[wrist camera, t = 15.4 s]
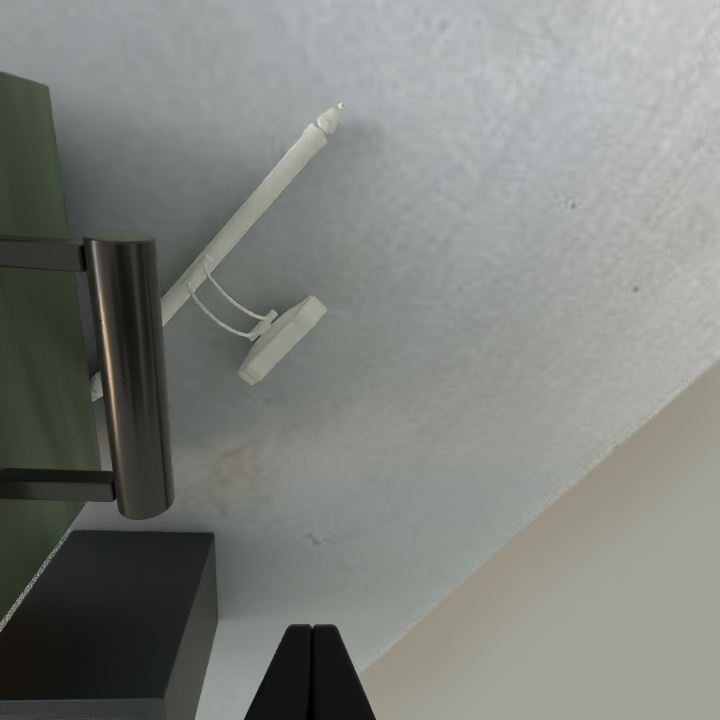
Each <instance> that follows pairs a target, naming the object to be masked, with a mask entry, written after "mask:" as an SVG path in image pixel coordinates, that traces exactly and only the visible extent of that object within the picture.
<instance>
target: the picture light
mask: <svg viewBox="0 0 720 720" xmlns="http://www.w3.org/2000/svg"><path fill="white" fill-rule="evenodd" d="M344 109H345V106H344V105H343V104H342V103H339V104H338V107H332V108H330V109H328V110H327V111H326V112H325V113H324V114H321V115H320V116H319V117H318V118H317V121H318V124H319V125H318V126H316V125H314V124H312V123H310V124H309V126H308V127H307V129H305V130H304V134H303V135H302V136H301V137H300V138H299V140H298V141H297V142H296V143H295V144H294V145H293V147H292V148H291V149H290V150H289V151H288V152H287V154H286V155H285V156H284V157H283V158H282V159H281V160H280V162H279V163H278V164H277V165H276V166H275V167H274V169H273V170H272V171H271V172H270V173H269V174H268V176H267V177H266V178H265V179H264V180H263V181H262V183H261V184H260V185H259V186H258V187H257V188H256V190H255V191H254V192H253V193H252V194H251V195H250V197H249V198H248V199H247V200H246V201H245V202H244V204H243V205H242V206H241V207H240V208H239V209H238V211H237V212H236V213H235V214H234V215H233V216H232V217H231V219H230V220H229V221H228V222H227V223H226V224H225V226H224V227H223V228H222V229H221V230H220V231H219V233H218V234H217V235H216V236H215V237H214V238H213V240H212V241H211V242H210V243H209V244H208V245H207V247H206V248H205V249H204V250H203V251H202V252H201V254H200V255H199V256H198V257H197V258H196V259H195V261H194V262H193V263H192V264H191V265H190V266H189V268H188V269H187V270H186V271H185V272H184V273H183V274H182V276H181V277H180V278H179V279H178V280H177V281H176V283H175V284H174V285H173V286H172V287H171V288H170V290H169V291H168V292H167V293H166V294H165V295H164V297H163V298H162V299H161V312H162V326H163V327H164V325H165V324H166V323H167V322H168V321H169V320H170V319H171V317H172V316H173V315H174V314H175V313H176V312H177V311H178V309H179V308H180V307H181V306H182V305H183V304H184V303H185V302H186V300H187V299H188V298H189V297H190V296H192V298H193V299H194V301H195V302H196V303H197V305H198V306H199V307H200V308H201V309H202V310H203V311H204V312H205V313H206V314H207V315H208V316H209V317H210V318H211V319H212V320H214V321H215V322H216V323H218V324H219V325H220V326H222V327H223V328H225V329H227V330H228V331H230V332H232V333H234V334H237V335H240V336H244V337H248V339H249V340H251V341H254V340H255V339H256V338H257V337H258V336H259V335H261V336H260V337H259V339H258V340H257V341H256V342H255V344H254V345H253V347H252V348H251V350H250V351H249V353H248V354H247V356H246V358H245V360H244V363H243V365H242V366H241V367H240V369H239V370H238V372H237V373H238V374H237V375H238V376H240V377H241V378H242V379H243V380H245V381H246V382H247V383H248V384H250V385H251V386H253V385H255V384H256V383H257V382H260V381H261V380H262V379H263V378H264V377H265V376H266V375H267V374H268V372H269V371H270V370H271V369H272V368H273V367H274V366H275V365H276V364H277V363H278V362H279V361H280V360H281V359H282V358H283V357H284V356H285V355H286V354H287V353H288V352H289V351H290V350H291V349H292V348H293V347H294V346H295V344H296V343H297V342H298V341H299V340H300V339H301V338H302V337H303V336H304V335H305V334H307V333H308V332H309V331H310V330H311V329H312V328H313V327H314V326H315V325H316V324H317V322H318V321H319V319H320V318H321V316H322V315H323V314H324V313H325V312H326V310H327V308H326V307H325V306H324V305H323V304H322V303H321V302H320V301H319V300H318V299H317V298H315V297H314V296H313V295H310V296H308V297H307V298H306V299H305V300H304V301H302V302H301V303H299V304H297V305H295V306H294V307H292V308H291V309H289V310H288V311H286V312H285V313H284V314H283V315H281V316H280V317H279V318H278V319H277V320H276V321H275V322H273V323H272V321H273V320H274V319H275V318H276V317H277V316H278V314H277V312H276V311H274V310H273V309H272V310H270V312H269V313H268V314H267V315H266V316H259V315H257V314H254V313H252V312H250V311H248V310H247V309H245V308H244V307H242V306H241V305H239V304H238V303H237V302H235V301H234V300H233V299H232V298H231V297H230V296H228V295H227V294H226V293H225V292H224V291H223V290H222V289H221V288H220V286H219V285H218V284H217V283H216V282H215V281H214V279H213V278H212V276H211V275H210V273H211V272H212V271H213V270H214V268H215V267H216V266H217V265H218V264H219V263H220V262H221V260H222V259H223V258H224V257H225V256H226V255H227V254H228V253H229V251H230V250H231V249H232V248H233V247H234V246H235V245H236V243H237V242H238V241H239V240H240V239H241V238H242V237H243V235H244V234H245V233H246V232H247V231H248V230H249V229H250V227H251V226H252V225H253V224H254V223H255V222H256V221H257V219H258V218H259V217H260V216H261V215H262V214H263V213H264V211H265V210H266V209H267V208H268V207H269V206H270V205H271V204H272V202H273V201H274V200H275V199H276V198H277V197H278V196H279V194H280V193H281V192H282V191H283V190H284V189H285V188H286V186H287V185H288V184H289V183H290V182H291V181H292V180H293V178H294V177H295V176H296V175H297V174H298V173H299V172H300V170H301V169H302V168H303V167H304V166H305V165H306V164H307V162H308V161H309V160H310V159H311V158H312V157H313V156H314V155H315V153H316V152H317V151H318V150H319V149H322V148H323V146H324V145H325V144H326V143H327V142H328V140H327V137H326V136H325V133H327V134H332V133H333V132H334V131H335V129H336V126H337V125H338V123H339V122H340V119H341V111H344ZM207 277H208V279H209V280H210V281H211V283H212V284H213V285H214V286H215V288H216V289H217V290H218V291H219V292H220V293H221V294H222V295H223V296H224V297H225V298H226V299H227V300H228V301H230V302H231V303H232V304H233V305H235V306H236V307H237V308H239V309H240V310H242V311H243V312H245V313H247V314H248V315H250V316H252V317H255V318H257V319H260V320H261V321H260V322H259V323H258V324H257V325H256V326H255V327H254V329H253V330H252V331H251V332H250V333H242V332H239V331H236V330H234V329H232V328H230V327H229V326H227V325H225V324H224V323H222V322H221V321H219V320H218V319H217V318H216V317H214V316H213V315H212V314H211V313H210V312H209V311H208V310H207V309H206V308H205V307H204V306H203V305H202V304H201V303H200V301H199V300H198V299H197V297H196V296H195V294H194V293H193V292H194V291H195V290H196V289H197V288H198V287H199V286H200V284H201V283H202V282H203V281H204V280H205V279H206V278H207ZM90 388H91V396H92V402H94V401H96V400H97V399H98V398H100V397H102V396H103V392H102V384H101V376H100V371H99V372H97V373H96V374H95V375H94V376H93V377H92V378H91V380H90Z"/></svg>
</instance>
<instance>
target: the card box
mask: <svg viewBox="0 0 720 720" xmlns="http://www.w3.org/2000/svg"><path fill="white" fill-rule="evenodd" d="M217 624H218V613H217V589H216V564H215V540H214V534H208V533H150V532H93V531H72V532H71V533H70V534H69V536H68V537H67V539H66V540H65V541H64V543H63V544H62V546H61V547H60V549H59V550H58V551H57V553H56V554H55V556H54V557H53V558H52V560H51V561H50V563H49V564H48V566H47V567H46V568H45V570H44V571H43V573H42V574H41V575H40V577H39V578H38V580H37V581H36V582H35V584H34V585H33V587H32V588H31V590H30V591H29V592H28V594H27V595H26V597H25V598H24V599H23V601H22V602H21V604H20V605H19V607H18V608H17V609H16V611H15V612H14V614H13V615H12V616H11V618H10V619H9V621H8V622H7V624H6V625H5V626H4V628H3V629H2V631H1V632H0V720H195V716H196V712H197V707H198V703H199V699H200V695H201V691H202V687H203V682H204V678H205V674H206V670H207V666H208V662H209V657H210V653H211V649H212V645H213V641H214V637H215V632H216V628H217Z"/></svg>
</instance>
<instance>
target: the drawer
mask: <svg viewBox="0 0 720 720" xmlns="http://www.w3.org/2000/svg"><path fill="white" fill-rule="evenodd" d="M85 271H87V275H88V283H89V290H90V298H91V306H92V314H93V322H94V329H95V337H96V345H97V353H98V361H99V368H100V376H101V384H102V392H103V399H104V407H105V415H106V423H107V431H108V438H109V446H110V454H111V462H112V469H113V471H102V468H101V461H100V453H99V446H98V439H97V432H96V425H95V417H94V410H93V403H92V396H91V388H90V381H89V374H88V367H87V360H86V352H85V345H84V338H83V331H82V324H81V316H80V309H79V302H78V295H77V288H76V280H75V273H74V272H78V273H83V272H85ZM174 498H175V495H174V481H173V466H172V452H171V438H170V424H169V410H168V396H167V382H166V368H165V354H164V340H163V326H162V312H161V298H160V284H159V270H158V256H157V242H156V238H155V237H153V236H151V235H147V234H142V233H133V232H95V233H89V234H86V235H84V237H83V241H81V240H70V237H69V230H68V223H67V215H66V208H65V201H64V194H63V187H62V179H61V172H60V165H59V158H58V151H57V143H56V136H55V129H54V122H53V115H52V107H51V100H50V93H49V88H48V86H47V85H45V84H41V83H38V82H35V81H32V80H28V79H25V78H22V77H19V76H15V75H12V74H9V73H6V72H2V71H0V622H1V621H2V620H3V618H4V617H5V615H6V614H7V613H8V611H9V610H10V608H11V607H12V606H13V604H14V603H15V602H16V600H17V599H18V597H19V596H20V595H21V593H22V592H23V590H24V589H25V588H26V586H27V585H28V583H29V582H30V581H31V579H32V578H33V577H34V575H35V574H36V572H37V571H38V570H39V568H40V567H41V565H42V564H43V563H44V561H45V560H46V558H47V557H48V556H49V554H50V553H51V552H52V550H53V549H54V547H55V546H56V545H57V543H58V542H59V540H60V539H61V538H62V536H63V535H64V533H65V532H66V531H67V529H68V528H69V527H70V525H71V524H72V522H73V521H74V520H75V518H76V517H77V515H78V514H79V513H80V511H81V510H82V508H83V507H84V506H85V504H86V503H87V502H88V501H92V502H113V501H114V500H115V499H116V501H117V508H118V511H119V512H120V514H121V515H123V516H124V517H126V518H129V519H135V520H142V519H149V518H152V517H155V516H158V515H160V514H162V513H163V512H165V511H166V510H168V509H169V508H170V506H171V505H172V504H173V501H174Z"/></svg>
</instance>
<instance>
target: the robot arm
mask: <svg viewBox="0 0 720 720" xmlns="http://www.w3.org/2000/svg"><path fill="white" fill-rule="evenodd" d="M244 720H376V719H375V716H374V714H373V711H372V709H371V707H370V704H369V702H368V699H367V697H366V695H365V692H364V690H363V687H362V685H361V683H360V680H359V678H358V676H357V673H356V671H355V668H354V666H353V664H352V661H351V659H350V657H349V654H348V652H347V649H346V647H345V645H344V642H343V640H342V638H341V635H340V633H339V630H338V629H337V627H336V626H335V625H333V624H316V625H314V626H313V629H312V627H311V625H309V624H291V625H289V626H288V628H287V629H286V631H285V633H284V636H283V638H282V640H281V642H280V644H279V646H278V648H277V650H276V653H275V655H274V657H273V659H272V661H271V663H270V665H269V667H268V670H267V672H266V674H265V676H264V678H263V680H262V682H261V684H260V687H259V689H258V691H257V693H256V695H255V697H254V699H253V701H252V704H251V706H250V708H249V710H248V712H247V714H246V716H245V718H244Z"/></svg>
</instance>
